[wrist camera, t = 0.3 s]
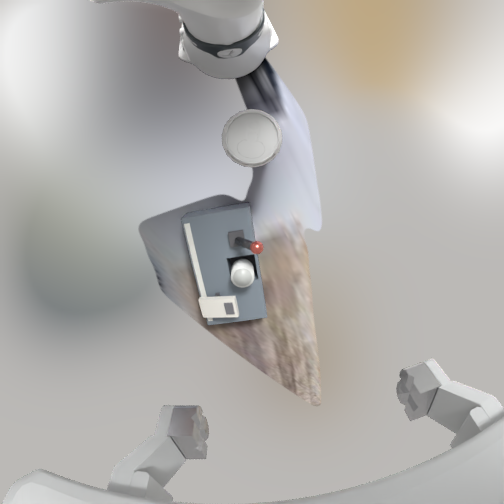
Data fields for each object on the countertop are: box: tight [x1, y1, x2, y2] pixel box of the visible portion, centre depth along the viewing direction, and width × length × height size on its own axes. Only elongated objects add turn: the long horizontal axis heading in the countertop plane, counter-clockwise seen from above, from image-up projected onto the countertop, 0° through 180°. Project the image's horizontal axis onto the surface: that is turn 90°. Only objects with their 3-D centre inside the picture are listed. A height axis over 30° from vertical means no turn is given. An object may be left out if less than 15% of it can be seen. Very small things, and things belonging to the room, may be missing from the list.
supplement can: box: [222, 109, 282, 167], centre depth 42 cm, size 8×8×15 cm
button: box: [231, 259, 254, 288], centre depth 50 cm, size 4×4×4 cm
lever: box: [235, 237, 263, 254], centre depth 45 cm, size 2×2×7 cm
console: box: [181, 202, 267, 325], centre depth 54 cm, size 22×12×6 cm, turn 9°
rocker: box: [198, 296, 239, 318], centre depth 52 cm, size 4×7×1 cm, turn 99°
